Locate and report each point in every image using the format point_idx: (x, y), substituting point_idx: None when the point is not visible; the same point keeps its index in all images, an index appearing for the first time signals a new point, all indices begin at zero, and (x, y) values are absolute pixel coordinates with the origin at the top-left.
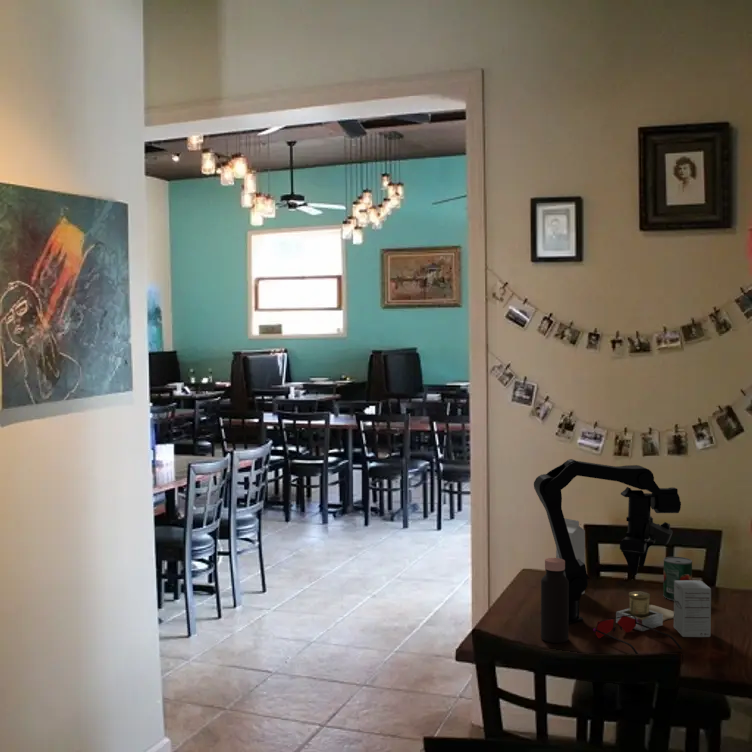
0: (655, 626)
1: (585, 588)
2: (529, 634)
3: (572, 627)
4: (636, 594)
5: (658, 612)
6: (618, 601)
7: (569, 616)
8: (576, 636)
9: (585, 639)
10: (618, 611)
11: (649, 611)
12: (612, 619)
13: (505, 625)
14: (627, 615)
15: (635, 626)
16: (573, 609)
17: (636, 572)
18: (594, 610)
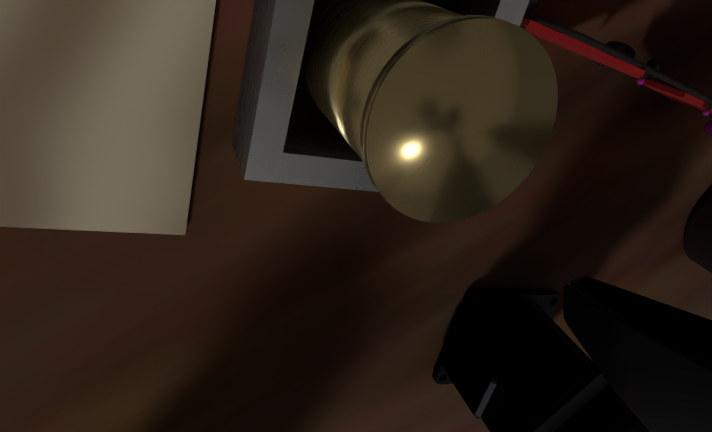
0: None
1: (618, 396)
2: (697, 294)
3: (576, 257)
4: (488, 145)
5: (7, 69)
6: (7, 395)
7: (545, 318)
8: (676, 179)
9: (702, 131)
10: None
11: (306, 32)
12: (687, 98)
13: None
14: (625, 55)
15: None
16: (554, 335)
17: (622, 291)
18: (290, 353)
